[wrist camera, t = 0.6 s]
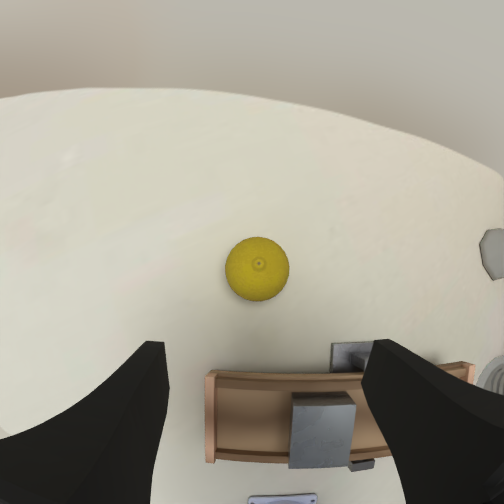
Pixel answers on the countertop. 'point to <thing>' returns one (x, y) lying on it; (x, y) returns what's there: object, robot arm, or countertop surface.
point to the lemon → (257, 269)
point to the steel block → (320, 429)
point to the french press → (493, 376)
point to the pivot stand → (352, 361)
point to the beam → (284, 413)
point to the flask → (493, 252)
